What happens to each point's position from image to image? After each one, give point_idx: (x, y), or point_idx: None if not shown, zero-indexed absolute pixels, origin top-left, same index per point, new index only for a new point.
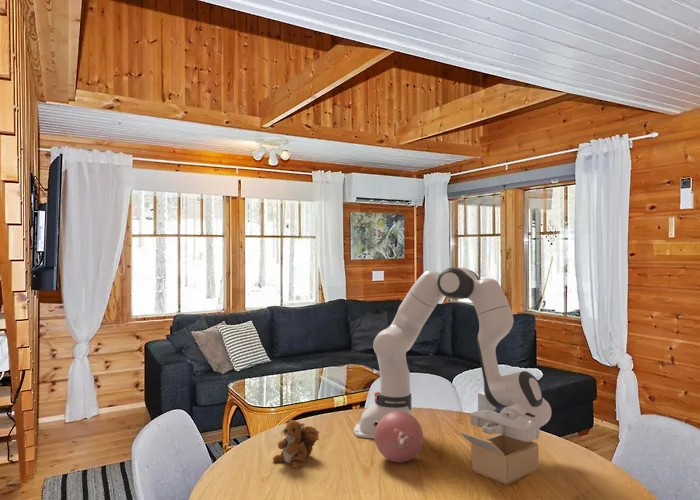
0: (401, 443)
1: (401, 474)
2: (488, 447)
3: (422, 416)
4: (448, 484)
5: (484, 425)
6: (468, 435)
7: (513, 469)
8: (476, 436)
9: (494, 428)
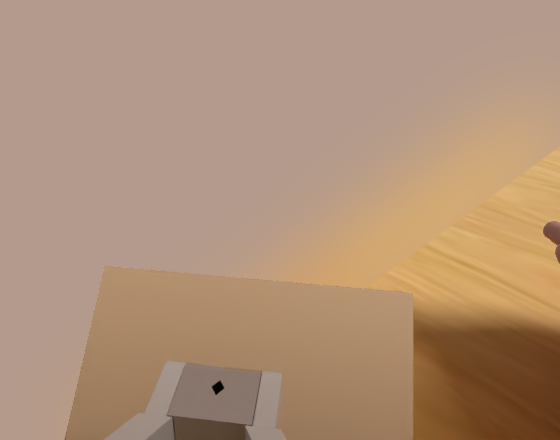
0: (554, 221)
1: (534, 355)
2: None
3: None
4: None
5: (277, 400)
6: (316, 288)
7: None
8: (243, 278)
9: (139, 421)
